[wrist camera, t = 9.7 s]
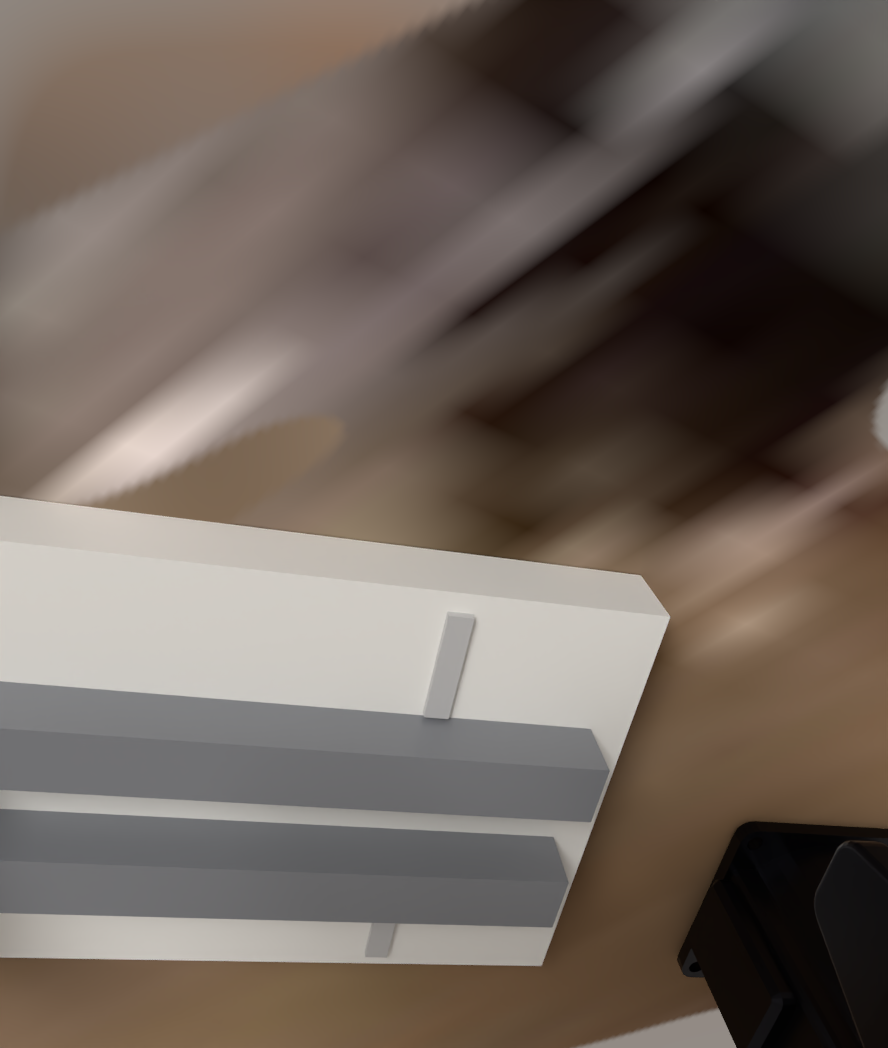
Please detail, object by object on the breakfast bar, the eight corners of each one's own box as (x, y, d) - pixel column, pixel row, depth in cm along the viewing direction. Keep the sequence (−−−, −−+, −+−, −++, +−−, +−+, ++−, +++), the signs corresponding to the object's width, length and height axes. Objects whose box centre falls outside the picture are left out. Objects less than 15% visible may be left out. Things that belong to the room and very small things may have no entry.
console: (640, 575, 22) (696, 652, 18) (526, 908, 26) (554, 1014, 23) (-491, 435, 16) (-678, 510, 13) (-377, 880, 21) (-495, 1012, 18)
